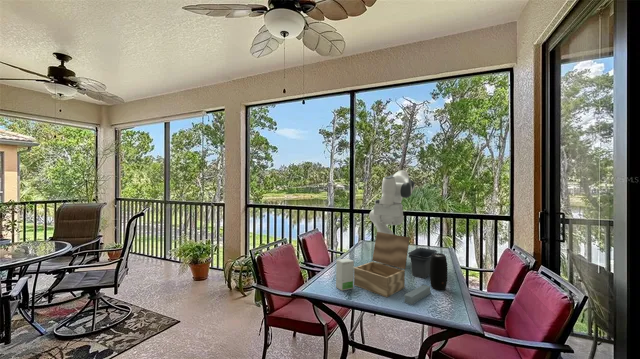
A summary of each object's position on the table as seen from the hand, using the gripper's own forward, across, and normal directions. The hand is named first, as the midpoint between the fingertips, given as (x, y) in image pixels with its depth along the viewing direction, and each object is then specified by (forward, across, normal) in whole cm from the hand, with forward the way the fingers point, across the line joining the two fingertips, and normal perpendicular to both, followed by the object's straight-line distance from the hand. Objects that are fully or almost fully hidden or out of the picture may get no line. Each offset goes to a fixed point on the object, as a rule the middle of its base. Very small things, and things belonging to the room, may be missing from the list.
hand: (387, 223), depth 172 cm
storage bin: (+32, -12, -22) cm, 41 cm away
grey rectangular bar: (+35, -29, +13) cm, 47 cm away
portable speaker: (+33, -31, -7) cm, 46 cm away
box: (+34, -7, +17) cm, 39 cm away
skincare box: (+36, +4, +33) cm, 49 cm away
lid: (+14, -7, +7) cm, 17 cm away
